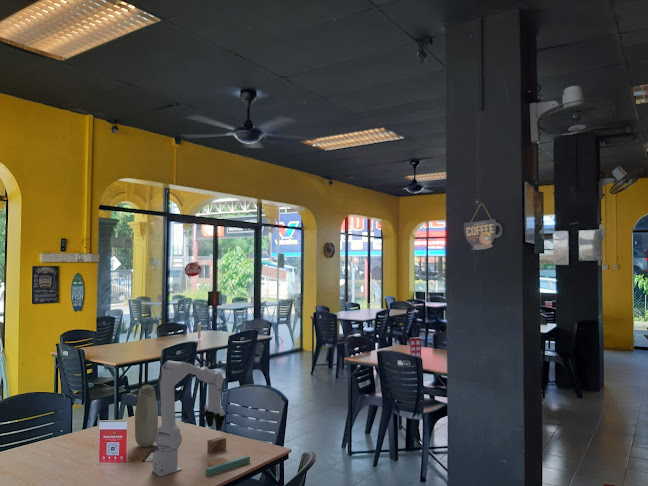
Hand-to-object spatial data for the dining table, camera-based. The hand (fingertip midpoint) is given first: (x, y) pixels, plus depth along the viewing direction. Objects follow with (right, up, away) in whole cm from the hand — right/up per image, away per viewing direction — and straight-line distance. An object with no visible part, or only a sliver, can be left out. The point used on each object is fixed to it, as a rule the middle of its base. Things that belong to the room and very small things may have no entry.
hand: (214, 428), depth 227 cm
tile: (+7, -9, -20) cm, 23 cm away
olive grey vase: (-33, -10, +4) cm, 35 cm away
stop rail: (+11, -8, -22) cm, 26 cm away
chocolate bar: (-24, -10, -6) cm, 26 cm away
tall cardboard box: (+2, -10, -2) cm, 10 cm away
